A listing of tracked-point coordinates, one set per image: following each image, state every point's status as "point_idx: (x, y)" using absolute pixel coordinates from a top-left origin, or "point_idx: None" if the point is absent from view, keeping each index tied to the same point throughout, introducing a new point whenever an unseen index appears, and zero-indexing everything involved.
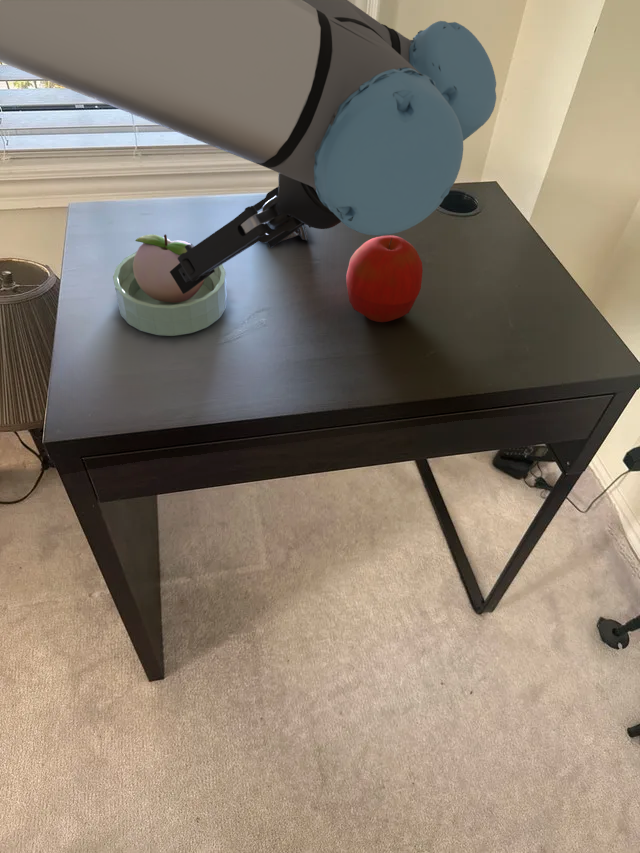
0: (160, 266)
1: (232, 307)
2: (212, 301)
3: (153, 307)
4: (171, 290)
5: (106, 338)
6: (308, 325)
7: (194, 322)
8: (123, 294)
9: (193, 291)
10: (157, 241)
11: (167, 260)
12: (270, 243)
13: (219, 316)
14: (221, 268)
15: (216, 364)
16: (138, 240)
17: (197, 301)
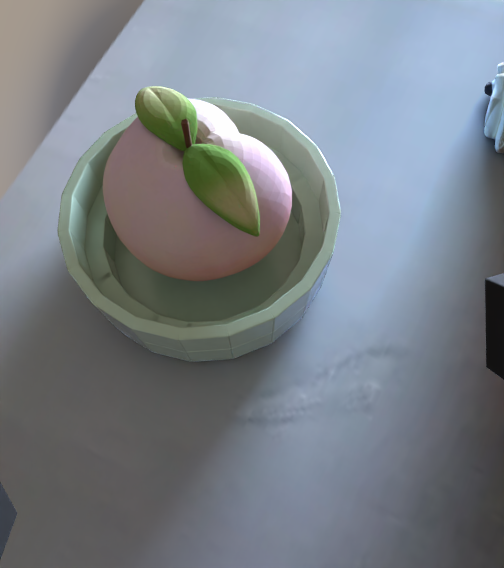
0: (139, 211)
1: (324, 310)
2: (254, 332)
3: (94, 304)
4: (161, 270)
5: (35, 283)
6: (475, 463)
7: (196, 354)
8: (60, 228)
9: (228, 275)
10: (167, 127)
11: (161, 203)
12: (496, 363)
13: (274, 340)
14: (329, 234)
15: (193, 487)
16: (136, 98)
17: (205, 334)
